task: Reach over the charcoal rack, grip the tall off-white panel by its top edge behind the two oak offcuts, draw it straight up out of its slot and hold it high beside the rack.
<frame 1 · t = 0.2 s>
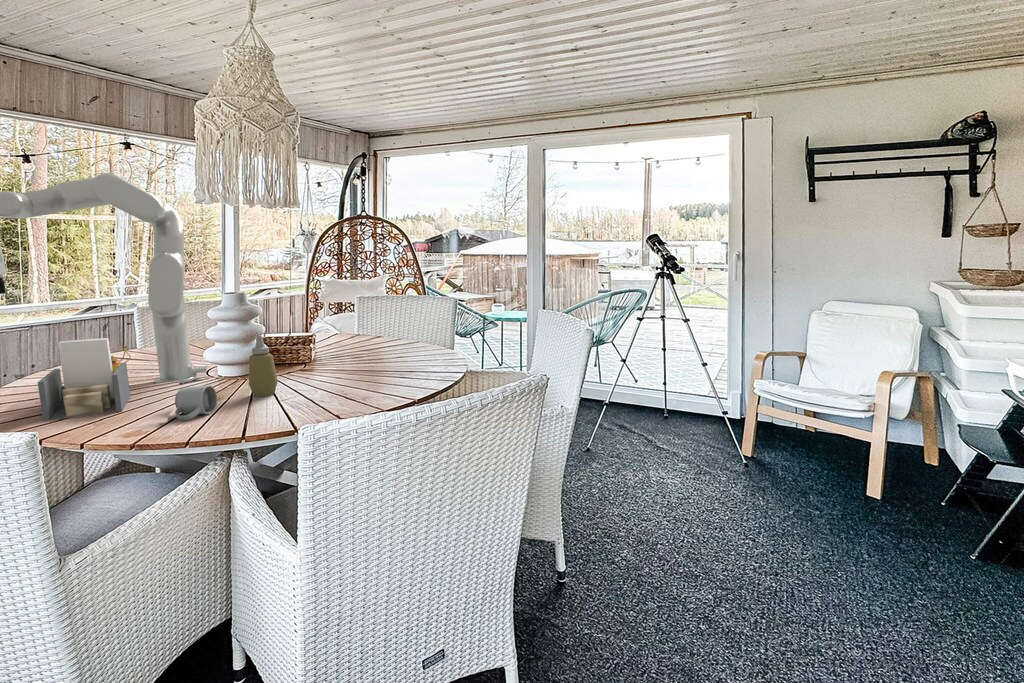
oak offcut tall: (88, 408, 165), point 1 cm above the table, touching rack
oak offcut short: (86, 412, 162), point 1 cm above the table, touching rack
magic lamp: (107, 377, 212), on the table
rack: (90, 412, 167), on the table
ceramic mug: (195, 415, 163), on the table
squeeze bottle: (264, 395, 184), on the table
white panel: (92, 404, 170), point 1 cm above the table, touching rack
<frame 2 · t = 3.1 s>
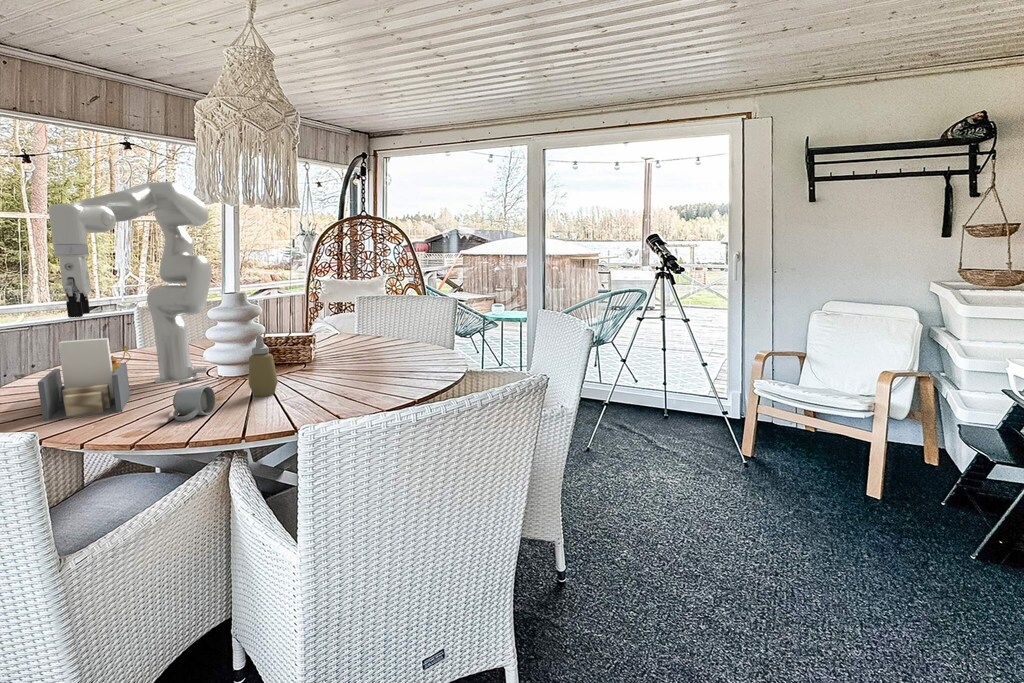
hand: (79, 315, 165), 26 cm above the table, tool pointing down, fingers open, 9 cm apart
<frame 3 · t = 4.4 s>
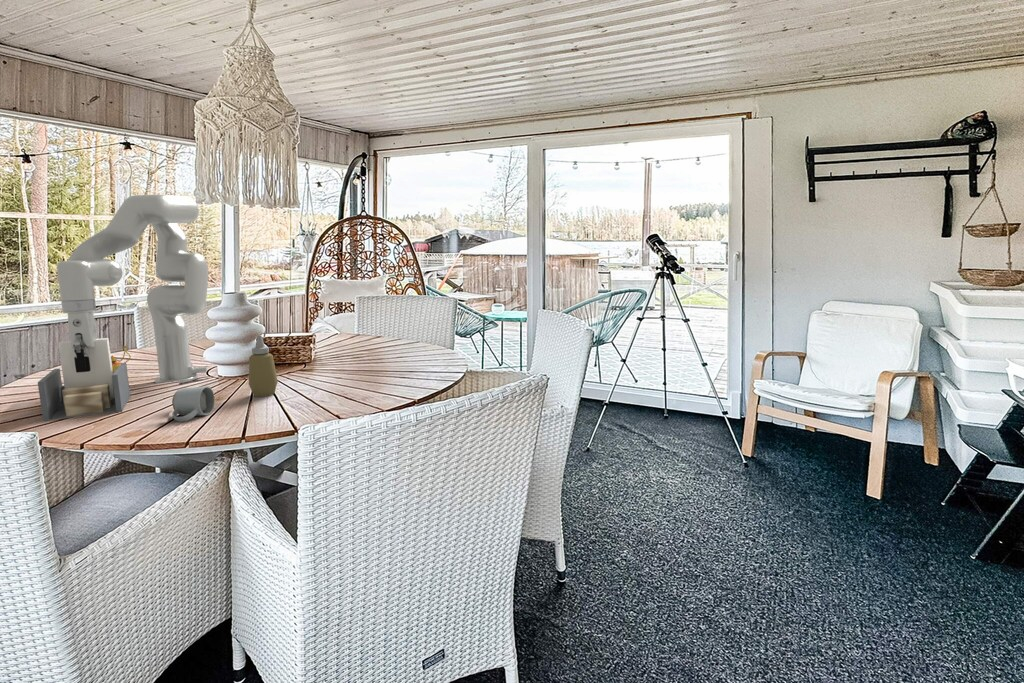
hand: (86, 368, 168), 12 cm above the table, tool pointing down, fingers open, 9 cm apart
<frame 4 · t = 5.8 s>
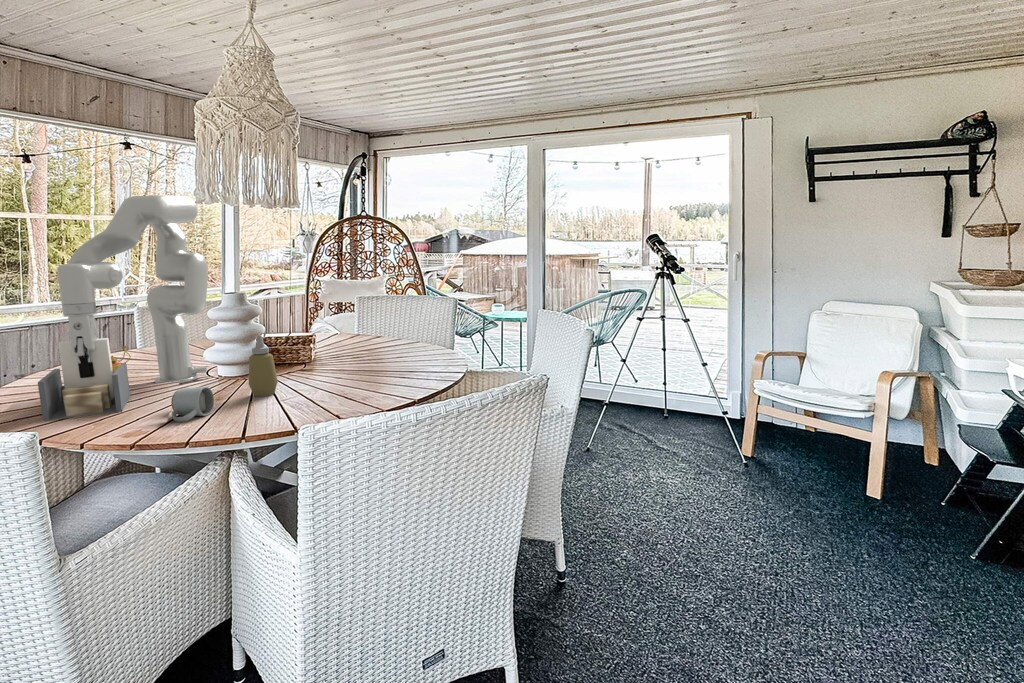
hand: (88, 375, 169), 10 cm above the table, tool pointing down, fingers closed on white panel, 3 cm apart
white panel: (92, 404, 170), point 2 cm above the table, touching gripper, rack
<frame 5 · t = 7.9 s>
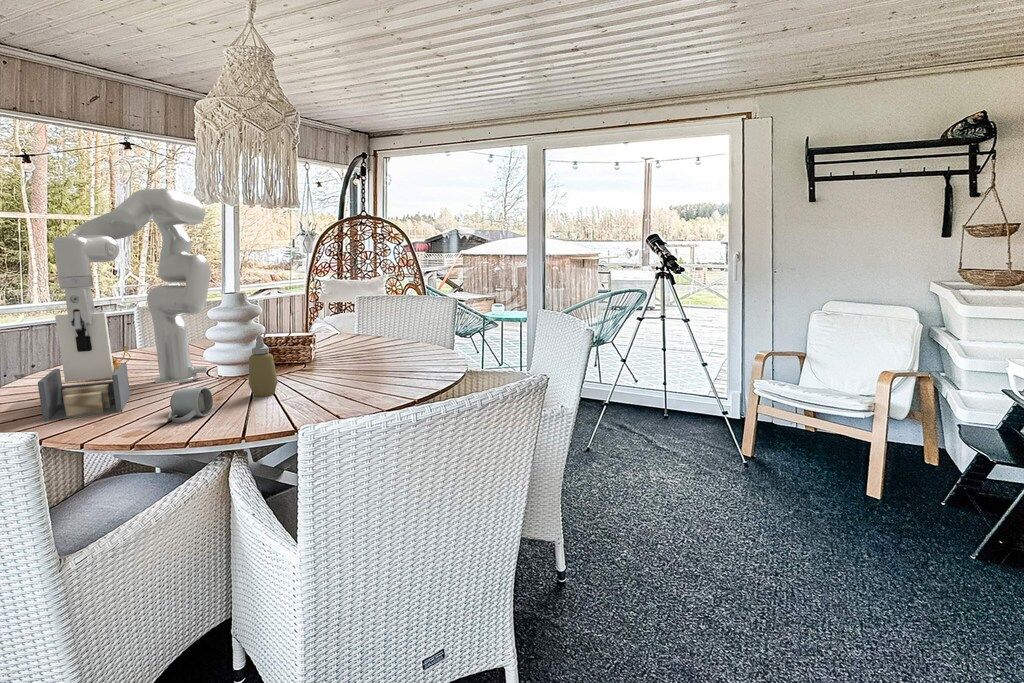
hand: (86, 349, 168), 17 cm above the table, tool pointing down, fingers closed on white panel, 3 cm apart
white panel: (90, 378, 169), point 9 cm above the table, touching gripper
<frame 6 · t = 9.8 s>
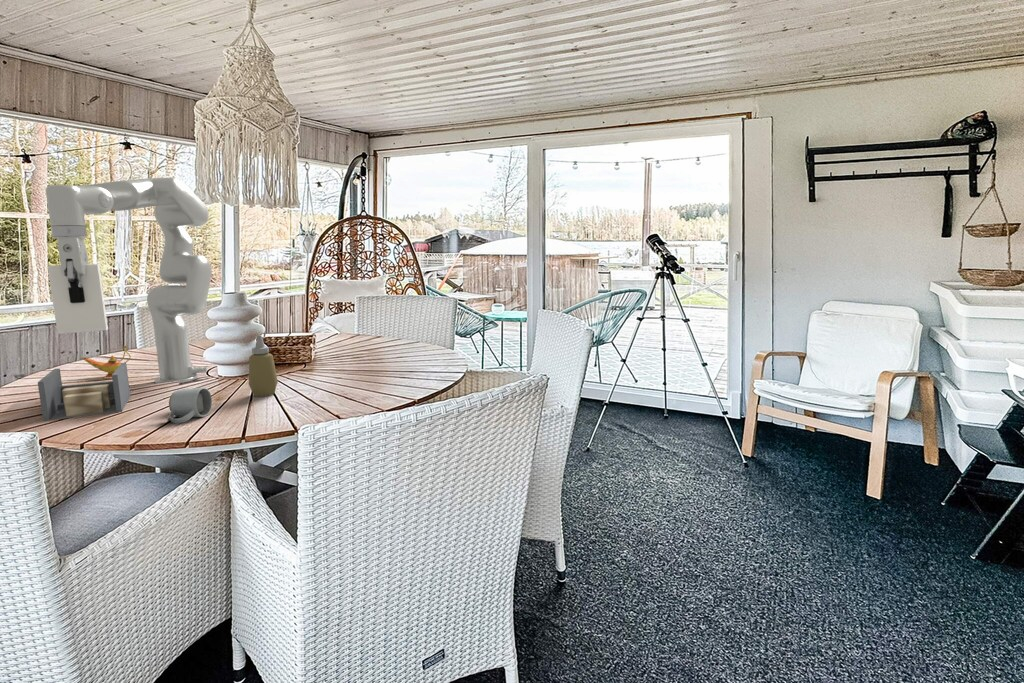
hand: (79, 301, 165), 30 cm above the table, tool pointing down, fingers closed on white panel, 3 cm apart
white panel: (83, 331, 167), point 22 cm above the table, touching gripper
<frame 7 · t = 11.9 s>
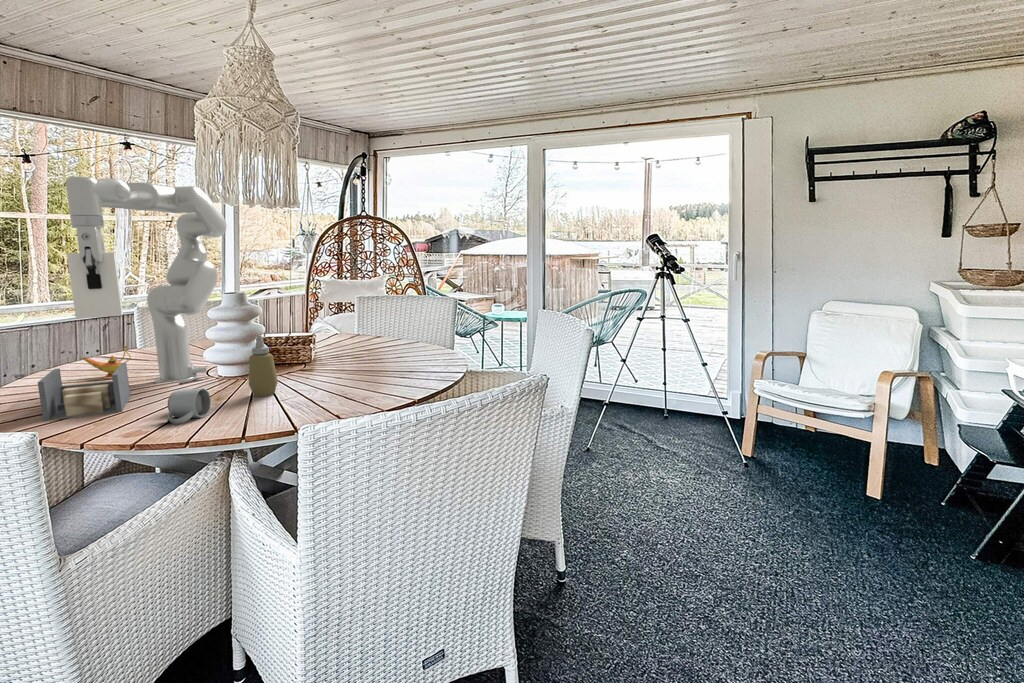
hand: (96, 287, 174), 33 cm above the table, tool pointing down, fingers closed on white panel, 3 cm apart
white panel: (99, 316, 175), point 25 cm above the table, touching gripper
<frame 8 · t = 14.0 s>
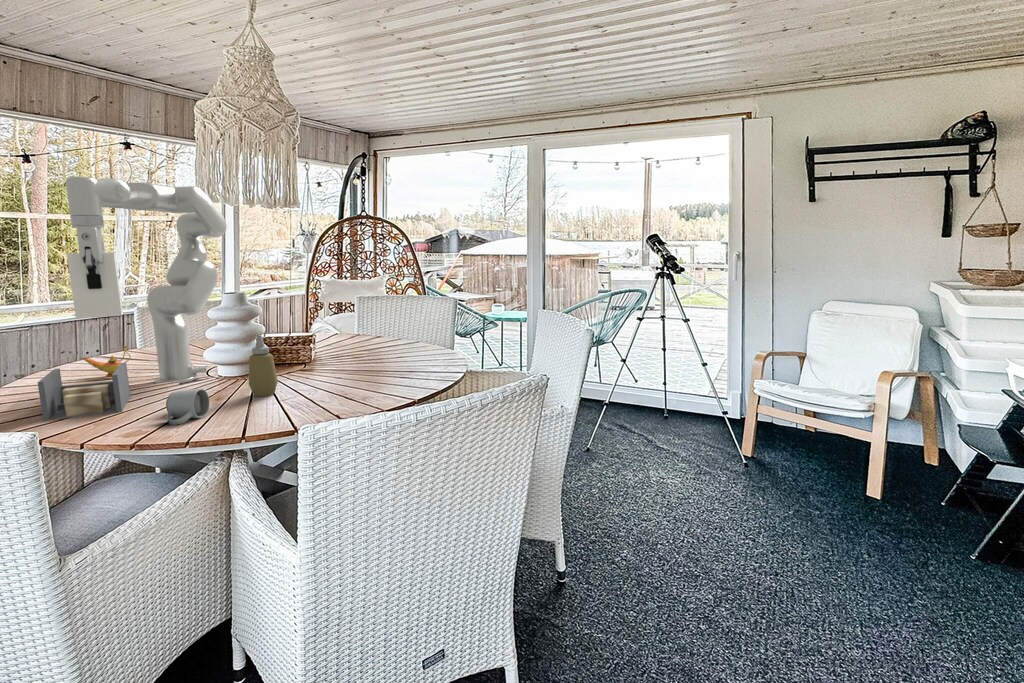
hand: (96, 287, 174), 33 cm above the table, tool pointing down, fingers closed on white panel, 3 cm apart
white panel: (99, 316, 175), point 25 cm above the table, touching gripper
at the end: white panel point 24.9 cm above the table; the gripper is holding white panel; oak offcut tall moved 0.0 cm from its start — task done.
